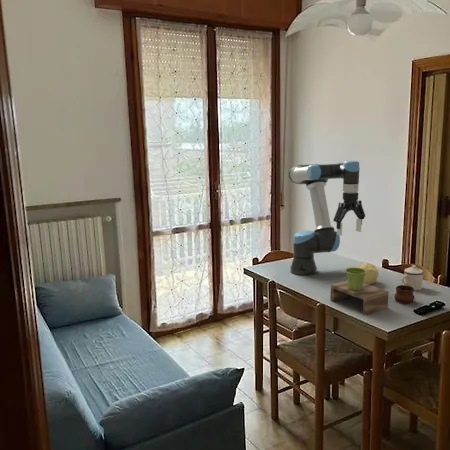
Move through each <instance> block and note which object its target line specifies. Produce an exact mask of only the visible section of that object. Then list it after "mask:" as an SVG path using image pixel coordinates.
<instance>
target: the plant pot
mask: <svg viewBox="0 0 450 450" xmlns="http://www.w3.org/2000/svg"><path fill="white" fill-rule="evenodd" d="M344 271H345V274H346V280H347V281H348V288H349V289H350V290H357V291H359V290H361V289H362V286H363V280H364V276H365V273H366V270H365V269H362V268H357V267H348V268H346V269H345V270H344Z"/></svg>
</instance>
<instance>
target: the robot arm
mask: <svg viewBox="0 0 450 450" xmlns="http://www.w3.org/2000/svg"><path fill="white" fill-rule="evenodd" d="M288 179H289V181H290V182H291V183H293V184H295V185H306V186H305V187H306V189H308V190H309V193H310V199H311V201H310V202H311V206H312V211H313V216H314V223H315V229H314V230H310V229H309V230H308V229H307V230H301V231H298V232H295V233H294V235H293V241H292V243H293V244H292V245H293V246H292V247H293V251H292V252H293V253H292V254H293V257H292V258H293V259H292V260H291V261H292V262H291V265H290V268H289V269H290V272H291V273H292V274H294V275H298V276H299V275H300V276H309V275H314V274H316V273H317V272H318V268H317V265H316V262H315V254H318V253H319V254H321V253H322V254H324V253H332V252H336V251H337V250H338V249H339V247H340V243H341V236H343V222H342V221H343V219H344V218H345V217H346V215H347V213H349V212H350V211H352V212H353V213H354V214H355V216H356V217H357V218H356V222H355V225H356V226H355V231H356V232H359V233H361V232H362V225H363V220H364V219H365V218H366V214H365V210H364V208H363V205H362V200H359V183H360V162H359V161H357V160H345V161H344V162H338V163H328V164H327V163H326V164H324V163H323V164H322V163H320V164H319V163H313V164H296V165H295V166H293V167H290V169H289V171H288ZM329 179H331V180H333V179H342V181H343V182H342V191H343V192H342V200H343V202H338V206H337V210H336V212H335V214H334V218H333V222H335V223H336V230H335V228H334V226H333V225H331V220H330V212H329V206H328V203H327V197H326V196H327V195H326V191H325V187H326V185H327V183H328V181H329Z"/></svg>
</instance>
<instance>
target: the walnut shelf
mask: <svg viewBox="0 0 450 450" xmlns="http://www.w3.org/2000/svg"><path fill="white" fill-rule="evenodd" d="M389 293H390V292H389V291H388V290H386V289H384V288H381V287H377V286H374V285H372V284H365V283H363V286H362V289H361V290H359V291H357V290H350V289H349V288H348V281H347V279H346V280H342V281H339V282H335V283H332V284H330V298H329V299H330V302H337V301H340V300H341V301H342V300H344V299H347V298H351V297H355V298H358V299H361V300H363V304H362V305H363V307H362V314H363V315H366V316H368V315H371V314H374V313H377V312H380V311H383V310H386V309H388V308H389Z"/></svg>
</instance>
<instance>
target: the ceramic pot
mask: <svg viewBox="0 0 450 450" xmlns="http://www.w3.org/2000/svg"><path fill="white" fill-rule="evenodd" d="M414 291H415V290H414V288H413V287H411V286H406V285H404V284H400V285H397V286H395V294H394V295H393V296H394V300H395V302H396V303H399V304H403V305H410V304H413V303H414V302H415V295H414Z"/></svg>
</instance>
